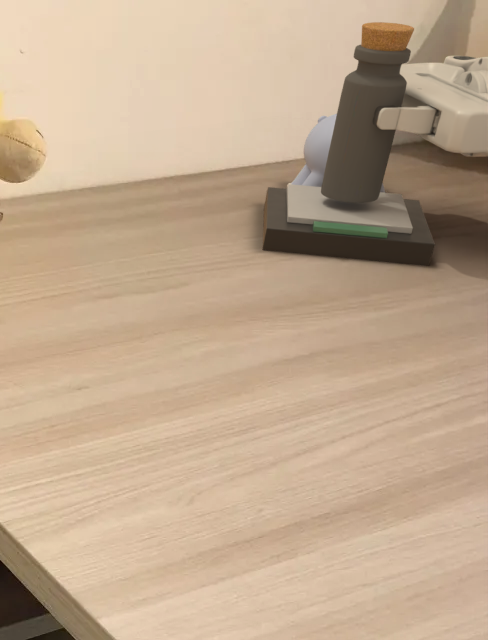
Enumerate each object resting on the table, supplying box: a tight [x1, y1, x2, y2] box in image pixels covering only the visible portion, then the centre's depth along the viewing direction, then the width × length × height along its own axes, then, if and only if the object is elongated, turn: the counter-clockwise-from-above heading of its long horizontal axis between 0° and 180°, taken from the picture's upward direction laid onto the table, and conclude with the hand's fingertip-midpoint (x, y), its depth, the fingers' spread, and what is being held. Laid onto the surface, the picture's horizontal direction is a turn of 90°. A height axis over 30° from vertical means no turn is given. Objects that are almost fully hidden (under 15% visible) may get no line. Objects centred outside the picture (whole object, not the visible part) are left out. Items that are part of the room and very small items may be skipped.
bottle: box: [321, 21, 415, 203], centre depth 101 cm, size 6×6×15 cm
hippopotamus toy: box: [288, 113, 386, 193], centre depth 117 cm, size 11×15×10 cm
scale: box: [261, 183, 436, 267], centre depth 107 cm, size 16×15×3 cm
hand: (360, 108), depth 101 cm, fingers closed on bottle, 6 cm apart
